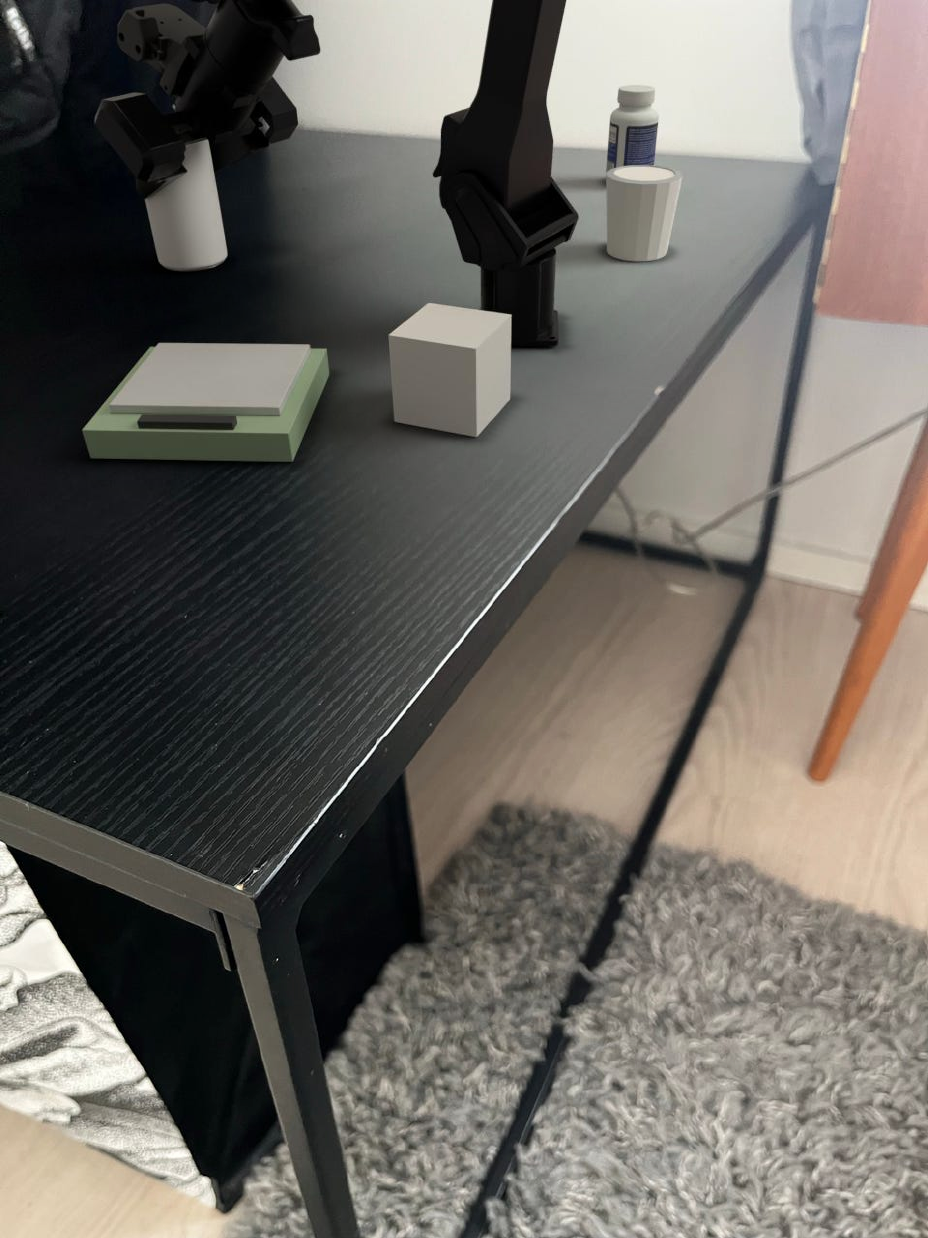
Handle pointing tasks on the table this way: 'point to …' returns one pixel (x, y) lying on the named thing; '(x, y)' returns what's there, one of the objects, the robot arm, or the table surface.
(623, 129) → the pill bottle
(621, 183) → the white cup
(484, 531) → the table surface
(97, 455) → the scale
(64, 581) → the table surface
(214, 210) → the can
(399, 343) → the white cube
